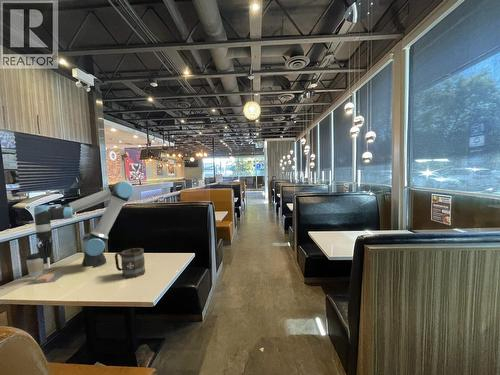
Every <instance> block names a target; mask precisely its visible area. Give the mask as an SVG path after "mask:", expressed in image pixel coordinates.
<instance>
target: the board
mask: <svg viewBox="0 0 500 375" xmlns="http://www.w3.org/2000/svg"><path fill="white" fill-rule="evenodd" d="M67 273H68V272H60V273H53V274H54V277H53V278H52V279H50V280H49V281H47V282H39V283H35V279H37V278H39V277H40V276H42V275H43V274H42V275H39V276H36V277H35V278H33V279H31V281H29V282H28V283H25V284H24V286H31V285H39V284H47V283H48V284H50V283H55V282H57V281H58V280H59V279H60V278H62V277H63V276H65V275H66V274H67ZM68 274H69V273H68Z"/></svg>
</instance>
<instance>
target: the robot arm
mask: <svg viewBox="0 0 500 375" xmlns="http://www.w3.org/2000/svg"><path fill="white" fill-rule="evenodd" d="M134 191H135V188H134V185H133V184H132V183H131V182H129V181H127V180H122V181H118V182H116V183H114V184H112V185H111V186H108V187H106V189H104V190H101V191H98V192H96V193H92V194H90V195H88V196H85V197H82V198H80V199H76V200H74V201H71V202H69V203H66V204H63V205H59V206H58V207H56V208H55V207H54V208H52V207H50V205H39V206H35V207H34V209H33V213H34V214H33V215H34V224H35V234H36V239H38V244H37V243H36V248H37V251H38V252H39V255H40V258H41V259H43V263H44V265H43V270H44V269H45V270H46V269H50V268H51V263H50V262H51V261H50V258H52V251H53V239H51V238H50V237H52V236H53V234H52V233H53V232H52V223H51V221H57V220H58V221H59V220H68V219H72V218H73V217H74V214H75V213H77V212H80V211H83V210H85V209H89V208H90V207H94V206H96V205H98V204H101V203H103V202H106V201H108V200H109V203H108V204H107V207H105V210H104V212H103V214H102V216H101V217H100V219H99V221H98V224H97V225H96V227H95V229H94V230H93V231H90V233H84V234H83V235H82V237H81V238H82V245H83V248H82V249H83V259H82V262H81V266H82V267H87V268H88V267H90V268H91V269H92V268H98V267H100V266H103V265H105V264H107V258H106V255H105V254H104V250H105V248H106V244H107V243H108V240H109V236H108V235H109V233H110V231H111V229H112V227H113V225H114V223H115V222H116V219H117V217H118V215H119V213H120V211H121V210H122V208H123V206H124V204H126V203H128V202H129V199H130V197H132V195H133V194H134V193H135V192H134Z"/></svg>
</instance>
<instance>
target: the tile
mask: <svg viewBox="0 0 500 375" xmlns="http://www.w3.org/2000/svg"><path fill="white" fill-rule="evenodd" d="M54 274H55V273H50V274H49V273H48V274H47V273H46V274H42V276H40V275H39V276H40V277H39V276H38V277H39V278H37V277H36V278H37V279H35V278H34V279H35V283H39V282H47V281H49V280H50V279H52V278H53V277H54Z"/></svg>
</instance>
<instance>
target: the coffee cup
mask: <svg viewBox="0 0 500 375" xmlns="http://www.w3.org/2000/svg"><path fill="white" fill-rule="evenodd" d="M25 261H26V267H27V271H28V277H31V278H32V277H33V278H34V277H39V276H40V275H44V263H43V259H41V258H40V255H39V251H38V252H36V253H30V254H28V255H27V256H26V257H25Z"/></svg>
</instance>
